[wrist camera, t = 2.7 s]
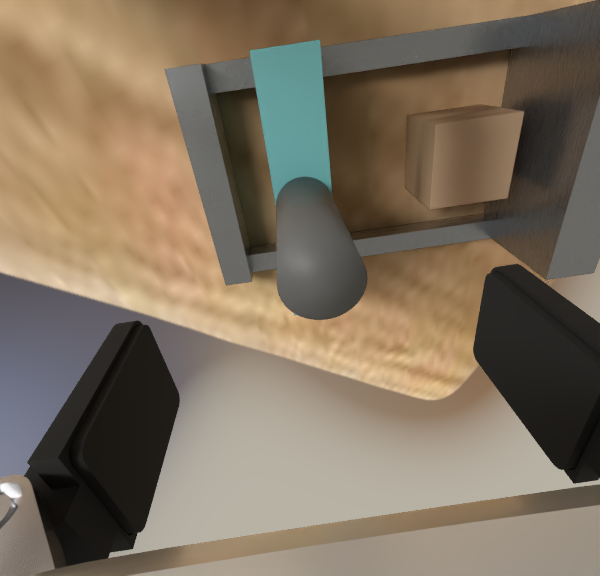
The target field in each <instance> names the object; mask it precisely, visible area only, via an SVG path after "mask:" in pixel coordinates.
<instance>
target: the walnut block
mask: <svg viewBox="0 0 600 576" xmlns="http://www.w3.org/2000/svg"><path fill="white" fill-rule="evenodd" d="M523 116H524V111H519V110H513V109H507V108H500V107H494V106H487V105H481V104H480V105H473V106H466V107H460V108H453V109H446V110H440V111H433V112H427V113H420V114H413V115H407V137H406V169H405V188H406V189H407V190H408V191H409V192H410V193H411V194H412V195H413V196H415V197H416V198H417V199H418V200H419V201H420V202H421V203H423V204H424V205H425V206H426V207H427V208H428V209H429V210H431V209H437V208H444V207H451V206H458V205H465V204H471V203H478V202H485V201H492V200H499V199H505V198H508V193H509V188H510V183H511V178H512V173H513V168H514V162H515V157H516V152H517V147H518V142H519V137H520V131H521V126H522V121H523Z"/></svg>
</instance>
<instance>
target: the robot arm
mask: <svg viewBox="0 0 600 576" xmlns="http://www.w3.org/2000/svg"><path fill="white" fill-rule="evenodd" d="M473 352H474V356H475V359H476V360H477V362H478V363H479V365H480V366H481V367H482V369H483V370H484V371H485V373H486V374H487V375H488V377H489V378H490V379H491V381H492V382H493V384H494V385H495V386H496V388H497V389H498V390H499V392H500V393H501V394H502V396H503V397H504V398H505V400H506V401H507V402H508V404H509V405H510V407H511V408H512V409H513V411H514V412H515V413H516V415H517V416H518V417H519V419H520V420H521V421H522V423H523V424H524V425H525V427H526V428H527V429H528V431H529V432H530V433H531V435H532V436H533V438H534V439H535V440H536V442H537V443H538V444H539V446H540V447H541V448H542V450H543V451H544V452H545V454H546V455H547V457H548V458H549V459H550V461H551V462H552V463H553V464H554V465H555V466H556V467H557V468H558V469H561V470H564V471H565V472H566V474H567V475H568V476H569V478H570V479H571V480H572V482H573V483H581V482H588V481H595V480H598V479H599V478H600V323H598V322H597V321H596V320H594V319H593V318H591V317H590V316H589V315H588V314H586V313H585V312H584V311H582V310H581V309H579V308H578V307H577V306H575V305H574V304H572V303H571V302H570V301H568V300H567V299H566V298H564V297H563V296H562V295H560V294H559V293H558V292H556V291H555V290H554V289H552V288H551V287H549V286H548V285H547V284H545V283H544V282H543V281H541V280H540V279H539V278H537V277H536V276H534V275H533V274H532V273H530V272H529V271H528V270H526V269H525V268H524V267H522V266H521V265H519V264H514V265H507V266H500V267H495V268H493V270H492V271H491V273H489V274H487V276H486V278H485V283H484V289H483V295H482V300H481V306H480V312H479V318H478V324H477V329H476V335H475V341H474V347H473ZM179 401H180V400H179V393H178V390H177V388H176V386H175V383H174V381H173V379H172V377H171V374H170V372H169V370H168V368H167V365H166V363H165V361H164V359H163V356H162V354H161V352H160V350H159V348H158V345H157V343H156V341H155V338H154V336H153V334H152V332H151V330H150V328H149V326H148V325H143V324H142V323H141V322H140V321H132V322H126V323H119V324H116V325H115V326H114V327H113V328H112V330H111V332H110V333H109V335H108V336H107V338H106V339H105V341H104V343H103V344H102V346H101V347H100V349H99V350H98V352H97V354H96V355H95V357H94V358H93V360H92V362H91V363H90V365H89V366H88V368H87V369H86V371H85V372H84V374H83V376H82V377H81V379H80V381H79V382H78V384H77V385H76V387H75V388H74V390H73V391H72V393H71V394H70V396H69V398H68V399H67V401H66V402H65V404H64V406H63V407H62V409H61V410H60V412H59V413H58V415H57V417H56V418H55V420H54V421H53V423H52V424H51V426H50V427H49V429H48V431H47V432H46V434H45V435H44V437H43V439H42V440H41V442H40V443H39V445H38V446H37V448H36V449H35V451H34V453H33V454H32V456H31V457H30V459H29V461H28V464H29V465H30V467H29V469H28V471H27V472H26V474H25V475H24V476H21V475H10V476H6V477H2V478H0V576H600V485H592V486H584V487H576V488H569V489H562V490H555V491H548V492H541V493H534V494H527V495H520V496H513V497H506V498H500V499H492V500H485V501H478V502H471V503H464V504H457V505H450V506H443V507H436V508H430V509H423V510H416V511H409V512H402V513H396V514H389V515H382V516H376V517H369V518H362V519H355V520H348V521H342V522H335V523H328V524H322V525H316V526H308V527H302V528H295V529H288V530H282V531H275V532H269V533H262V534H256V535H250V536H243V537H236V538H230V539H224V540H217V541H211V542H204V543H197V544H191V545H184V546H178V547H171V548H165V549H159V550H154V551H148V552H142V553H136V554H130V555H125V556H120V557H113V558H108V557H109V553H110V552H116V551H123V550H129V549H133V547H134V543H135V540H136V536H137V533H138V532H141V531H142V530H143V529H144V527H145V525H146V522H147V518H148V515H149V511H150V507H151V504H152V500H153V497H154V493H155V489H156V486H157V482H158V479H159V475H160V472H161V468H162V465H163V461H164V457H165V454H166V450H167V447H168V443H169V439H170V436H171V432H172V429H173V425H174V422H175V418H176V414H177V411H178V407H179Z"/></svg>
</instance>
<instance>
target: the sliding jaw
mask: <svg viewBox="0 0 600 576" xmlns="http://www.w3.org/2000/svg"><path fill="white" fill-rule="evenodd" d="M249 51H250V57H251V63H252V69H253V75H254V81H255V87H256V92H257V98H258V104H259V110H260V116H261V122H262V128H263V134H264V140H265V146H266V151H267V157H268V163H269V169H270V175H271V181H272V187H273V193H274V199H275V205H276V242H277V288H278V293H279V296H280V298H281V300H282V302H283V303H284V304H285V306H286V307H287V308H288V309H289V310H291V311H292V312H293V313H294V315H299V316H301V317H304V318H308V319H314V320H324V319H331V318H334V317H337V316H340V315H342V314H344V313H346V312H347V311H349V310H350V309H352V308H353V307H354V306H355V305H356V304H357V303H358V302H359V300H360V299H361V297H362V296H363V294H364V291H365V289H366V285H367V271H366V268H365V265H364V263H363V261H362V259H361V257H360V254H359V252H358V250H357V248H356V246H355V244H354V242H353V240H352V237H351V235H350V233H349V231H348V229H347V227H346V225H345V223H344V220H343V218H342V216H341V214H340V212H339V210H338V208H337V206H336V204H335V201H334V199H333V197H332V187H331V174H330V161H329V149H328V136H327V123H326V111H325V98H324V85H323V73H322V60H321V47H320V40H315V41H308V42H302V43H295V44H289V45H282V46H275V47H269V48H262V49H256V50H249Z"/></svg>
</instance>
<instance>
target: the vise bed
mask: <svg viewBox="0 0 600 576" xmlns="http://www.w3.org/2000/svg"><path fill="white" fill-rule="evenodd" d="M506 49H511V52H510V59H509V65H508V71H507V77H506V83H505V89H504V96H503V102H502V108H507V109H513V110H519V111H524V116H523V121H522V126H521V131H520V137H519V142H518V147H517V152H516V157H515V162H514V168H513V173H512V178H511V183H510V188H509V193H508V198H505V199H499V200H492V201H486V206H485V212H484V214H477V215H470V216H463V217H456V218H449V219H442V220H435V221H428V222H421V223H414V224H408V225H401V226H394V227H387V228H380V229H373V230H366V231H359V232H352V233H350V235H351V237H352V240H353V242H354V244H355V246H356V248H357V250H358V252H359V254H360V257H363V256H370V255H377V254H384V253H391V252H398V251H405V250H412V249H419V248H426V247H433V246H439V245H446V244H453V243H460V242H467V241H474V240H481V239H488V238H492V239H493V240H494V241H496V242H497V243H498V244H500V245H501V246H502V247H504V248H505V249H506V250H508V251H509V252H510V253H511V254H513V255H514V256H515V257H517V258H518V259H519V260H521V261H522V262H523V263H525V264H526V265H527V266H529V267H530V268H531V269H533V270H534V271H535V272H536V273H538V274H539V275H540V276H542V277H543V278H544V279H546V280H548V279H555V278H562V277H569V276H576V275H584V274H591V273H594V271H595V268H596V266H597V263H598V261H599V258H600V0H596V1H591V2H587V3H582V4H578V5H574V6H569V7H565V8H560V9H556V10H551V11H547V12H543V13H538V14H534V15H528V16H522V17H515V18H509V19H502V20H495V21H489V22H482V23H475V24H469V25H462V26H456V27H449V28H442V29H436V30H429V31H423V32H416V33H409V34H403V35H396V36H390V37H383V38H376V39H370V40H363V41H357V42H350V43H343V44H337V45H330V46H324V47H321V60H322V73H323V77H326V76H333V75H340V74H346V73H353V72H360V71H366V70H373V69H380V68H386V67H393V66H400V65H406V64H413V63H420V62H426V61H433V60H440V59H446V58H453V57H460V56H466V55H473V54H480V53H486V52H493V51H500V50H506ZM164 70H165V73H166V77H167V80H168V84H169V87H170V91H171V94H172V98H173V101H174V105H175V108H176V112H177V115H178V119H179V122H180V126H181V129H182V133H183V136H184V140H185V143H186V147H187V150H188V154H189V158H190V161H191V165H192V168H193V172H194V175H195V179H196V182H197V186H198V189H199V193H200V196H201V200H202V203H203V207H204V210H205V214H206V217H207V221H208V224H209V228H210V231H211V235H212V238H213V242H214V246H215V249H216V253H217V256H218V260H219V263H220V267H221V270H222V274H223V277H224V281H225V284H226V285H233V284H240V283H247V282H252V276H253V272H258V271H265V270H272V269H277V243H276V244H269V245H262V246H255V247H250V244H249V240H248V235H247V231H246V226H245V222H244V217H243V213H242V208H241V204H240V199H239V195H238V191H237V186H236V182H235V177H234V173H233V168H232V164H231V159H230V155H229V150H228V146H227V142H226V137H225V133H224V128H223V124H222V119H221V115H220V110H219V106H218V101H217V97H216V93H220V92H227V91H233V90H240V89H247V88H253V87H255V81H254V75H253V69H252V63H251V58H244V59H238V60H231V61H225V62H218V63H211V64H196V65H190V66H183V67H176V68H170V69H164Z"/></svg>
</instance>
